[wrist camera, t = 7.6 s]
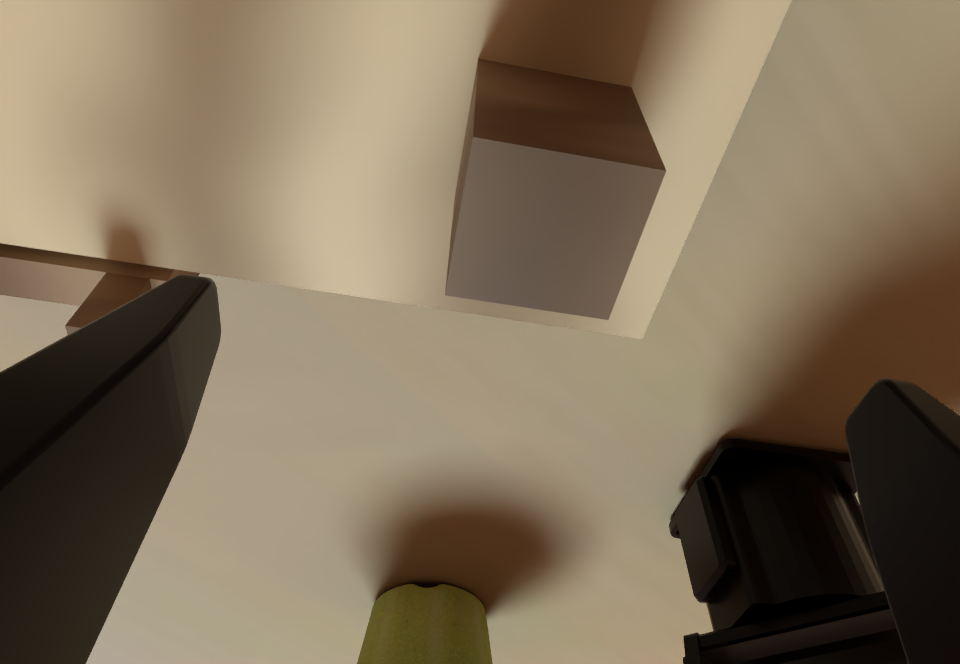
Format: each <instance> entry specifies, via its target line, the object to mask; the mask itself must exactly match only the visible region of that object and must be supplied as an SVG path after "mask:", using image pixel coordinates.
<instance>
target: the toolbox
mask: <svg viewBox="0 0 960 664" xmlns="http://www.w3.org/2000/svg"><path fill="white" fill-rule="evenodd" d="M181 274H186V275H193V276H198V275H199V274H200V273H196V272H189V271H183V270H176V269H169V268H163V267H156V266H149V265H143V264H136V263H129V262H122V261H116V260H109V259H102V258H96V257H89V256H82V255H76V254H69V253H62V252H56V251H49V250H42V249H35V248H29V247H22V246H15V245H9V244H2V243H0V295H7V296H14V297H21V298H28V299H35V300H42V301H49V302H56V303H63V304H70V305H77V306H80V307H79V309H78V310H77V311H76V312H75V314H74V315H73V316H72V318H71V319H70V320H69V321H68V323H67V324H66V325H65V327H66V330H67V333H68V335H69V334H71V333H73V332H75V331H77V330H78V329H80V328H82V327H84V326H86V325H87V324H89V323H91V322H93V321H95V320H97V319H98V318H100V317H102V316H104V315H106V314H108V313H109V312H111V311H113V310H115V309H117V308H118V307H120V306H122V305H124V304H126V303H128V302H129V301H131V300H133V299H135V298H137V297H139V296H140V295H142V294H144V293H146V292H148V291H149V290H151V289H153V288H155V287H157V286H159V285H160V284H162V283H164V282H166V281H168V280H170V279H171V278H173V277H175V276H177V275H181Z"/></svg>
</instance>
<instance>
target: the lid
mask: <svg viewBox="0 0 960 664" xmlns="http://www.w3.org/2000/svg"><path fill="white" fill-rule="evenodd" d="M791 1H792V0H0V243H2V244H9V245H15V246H22V247H29V248H35V249H42V250H49V251H56V252H62V253H69V254H76V255H82V256H89V257H96V258H102V259H109V260H116V261H122V262H129V263H136V264H143V265H149V266H156V267H163V268H169V269H176V270H183V271H189V272H196V273H203V274H209V275H216V276H223V277H230V278H236V279H243V280H250V281H256V282H263V283H270V284H276V285H283V286H290V287H296V288H303V289H310V290H317V291H323V292H330V293H337V294H343V295H350V296H357V297H363V298H370V299H377V300H384V301H390V302H397V303H404V304H410V305H417V306H424V307H430V308H437V309H444V310H450V311H457V312H464V313H471V314H477V315H484V316H491V317H497V318H504V319H511V320H517V321H524V322H531V323H537V324H544V325H551V326H558V327H564V328H571V329H578V330H584V331H591V332H598V333H604V334H611V335H618V336H624V337H631V338H638V339H643V336H644V334H645V332H646V329H647V327H648V325H649V323H650V320H651V318H652V316H653V314H654V311H655V309H656V307H657V305H658V302H659V300H660V298H661V295H662V293H663V291H664V289H665V286H666V284H667V282H668V280H669V277H670V275H671V273H672V271H673V268H674V266H675V264H676V262H677V259H678V257H679V255H680V252H681V250H682V248H683V246H684V243H685V241H686V239H687V237H688V234H689V232H690V230H691V228H692V225H693V223H694V221H695V218H696V216H697V214H698V212H699V209H700V207H701V205H702V203H703V200H704V198H705V196H706V194H707V191H708V189H709V187H710V185H711V182H712V180H713V178H714V175H715V173H716V171H717V169H718V166H719V164H720V162H721V160H722V157H723V155H724V153H725V151H726V148H727V146H728V144H729V141H730V139H731V137H732V135H733V132H734V130H735V128H736V126H737V123H738V121H739V119H740V117H741V114H742V112H743V110H744V107H745V105H746V103H747V101H748V98H749V96H750V94H751V92H752V89H753V87H754V85H755V83H756V80H757V78H758V76H759V74H760V71H761V69H762V67H763V64H764V62H765V60H766V58H767V55H768V53H769V51H770V49H771V46H772V44H773V42H774V40H775V37H776V35H777V33H778V30H779V28H780V26H781V24H782V21H783V19H784V17H785V15H786V12H787V10H788V8H789V6H790V3H791Z"/></svg>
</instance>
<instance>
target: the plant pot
mask: <svg viewBox="0 0 960 664" xmlns="http://www.w3.org/2000/svg"><path fill="white" fill-rule="evenodd" d="M357 664H492V657H491V649H490V642H489V634H488V626H487V619H486V613H485V609H484V607H483V604H482V603H481V602H480V600H479V599H478V598H476V597H475V596H474V595H472V594H471V593H469V592H467V591H465V590H462V589H460V588H457V587H454V586H451V585H445V584H441V585H438V586H435V587H431V588H424V587H420V586H417V585H415V584H407V585H402V586H399V587H396V588H393V589H391V590H389V591H387V592H385V593H384V594H382V595H381V596H380V597H379V598H378V599H377V600H376V601H375V603H374V605H373V608H372V612H371V616H370V620H369V623H368V627H367V630H366V634H365V638H364V641H363V645H362V648H361V652H360V655H359V659H358V662H357Z"/></svg>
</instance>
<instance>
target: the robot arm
mask: <svg viewBox="0 0 960 664" xmlns="http://www.w3.org/2000/svg"><path fill="white" fill-rule="evenodd" d="M220 336H221V324H220V314H219V304H218V294H217V287H216V285H215V282H214V281H213V280H212V279H210V278H206V277H200V276H193V275H186V274H181V275H177V276H175V277H173V278H171V279H170V280H168V281H166V282H164V283H162V284H160V285H159V286H157V287H155V288H153V289H151V290H149V291H148V292H146V293H144V294H142V295H140V296H139V297H137V298H135V299H133V300H131V301H129V302H128V303H126V304H124V305H122V306H120V307H118V308H117V309H115V310H113V311H111V312H109V313H108V314H106V315H104V316H102V317H100V318H98V319H97V320H95V321H93V322H91V323H89V324H87V325H86V326H84V327H82V328H80V329H78V330H77V331H75V332H73V333H71V334H69V335H67V336H66V337H64V338H62V339H60V340H58V341H56V342H55V343H53V344H51V345H49V346H47V347H45V348H44V349H42V350H40V351H38V352H36V353H35V354H33V355H31V356H29V357H27V358H25V359H24V360H22V361H20V362H18V363H16V364H14V365H13V366H11V367H9V368H7V369H5V370H4V371H2V372H0V664H86V662H87V660H88V657H89V655H90V653H91V651H92V649H93V647H94V645H95V642H96V640H97V638H98V636H99V634H100V632H101V630H102V627H103V625H104V623H105V621H106V619H107V617H108V614H109V612H110V610H111V608H112V606H113V604H114V602H115V599H116V597H117V595H118V593H119V591H120V589H121V587H122V584H123V582H124V580H125V578H126V576H127V574H128V572H129V569H130V567H131V565H132V563H133V561H134V559H135V556H136V554H137V552H138V550H139V548H140V546H141V544H142V541H143V539H144V537H145V535H146V533H147V531H148V529H149V526H150V524H151V522H152V520H153V518H154V516H155V514H156V511H157V509H158V507H159V505H160V503H161V501H162V498H163V496H164V494H165V492H166V490H167V488H168V486H169V483H170V481H171V479H172V477H173V475H174V473H175V471H176V468H177V466H178V464H179V462H180V460H181V457H182V455H183V453H184V450H185V448H186V446H187V443H188V440H189V437H190V434H191V431H192V428H193V425H194V422H195V419H196V416H197V412H198V409H199V406H200V403H201V400H202V397H203V394H204V391H205V387H206V384H207V381H208V378H209V375H210V372H211V369H212V366H213V362H214V359H215V356H216V353H217V350H218V347H219V342H220ZM845 436H846V441H847V445H848V450H849V455H847V454H839V453H832V452H825V451H817V450H810V449H803V448H795V447H788V446H781V445H773V444H766V443H759V442H751V441H744V440H737V439H729V440H725V441H723V442H721V443H720V444H719V445H718V447H717V448H716V450H715V451H714V453H713V455H712V456H711V458H710V459H709V461H708V463H707V464H706V466H705V467H704V469H703V471H702V472H701V474H700V475H699V477H698V479H697V480H696V481H695V482H694V483H693V485H692V486H691V488H690V490H689V491H688V493H687V494H686V496H685V498H684V499H683V501H682V502H681V504H680V506H679V507H678V509H677V510H676V512H675V515H674V517H673V519H672V520H671V522H670V523H669V528H670V533H671V535H672V536H673V537H675V538H680V539H681V543H682V547H683V551H684V556H685V560H686V564H687V568H688V572H689V577H690V581H691V585H692V589H693V593H694V596H695V598H696V599H697V600H698V601H699V602H701V603H707V607H708V611H709V615H710V619H711V623H712V627H713V632H709V633H705V634H700V635H699V634H698V633H693V634H689V635H685V636H684V647H685V657H683V664H960V416H959V415H958V414H956V413H955V412H953V411H952V410H951V409H949V408H948V407H946V406H945V405H944V404H942V403H941V402H939V401H938V400H937V399H935V398H934V397H932V396H931V395H930V394H928V393H927V392H925V391H924V390H922V389H921V388H920V387H918V386H917V385H915V384H913V383H910V382H906V381H899V380H893V379H881V380H879V381H877V382H876V383H874V385H873V386H872V387H871V388H870V389H869V391H868V392H867V393H866V395H865V396H864V397H863V398H862V400H861V401H860V402H859V404H858V405H857V406H856V407H855V409H854V410H853V411H852V413H851V414H850V415H849V417H848V419H847V421H846V426H845ZM856 491H857V493H858V498H859V503H860V505H859V503H858V501H857V499H856V497H855V493H856Z"/></svg>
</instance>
